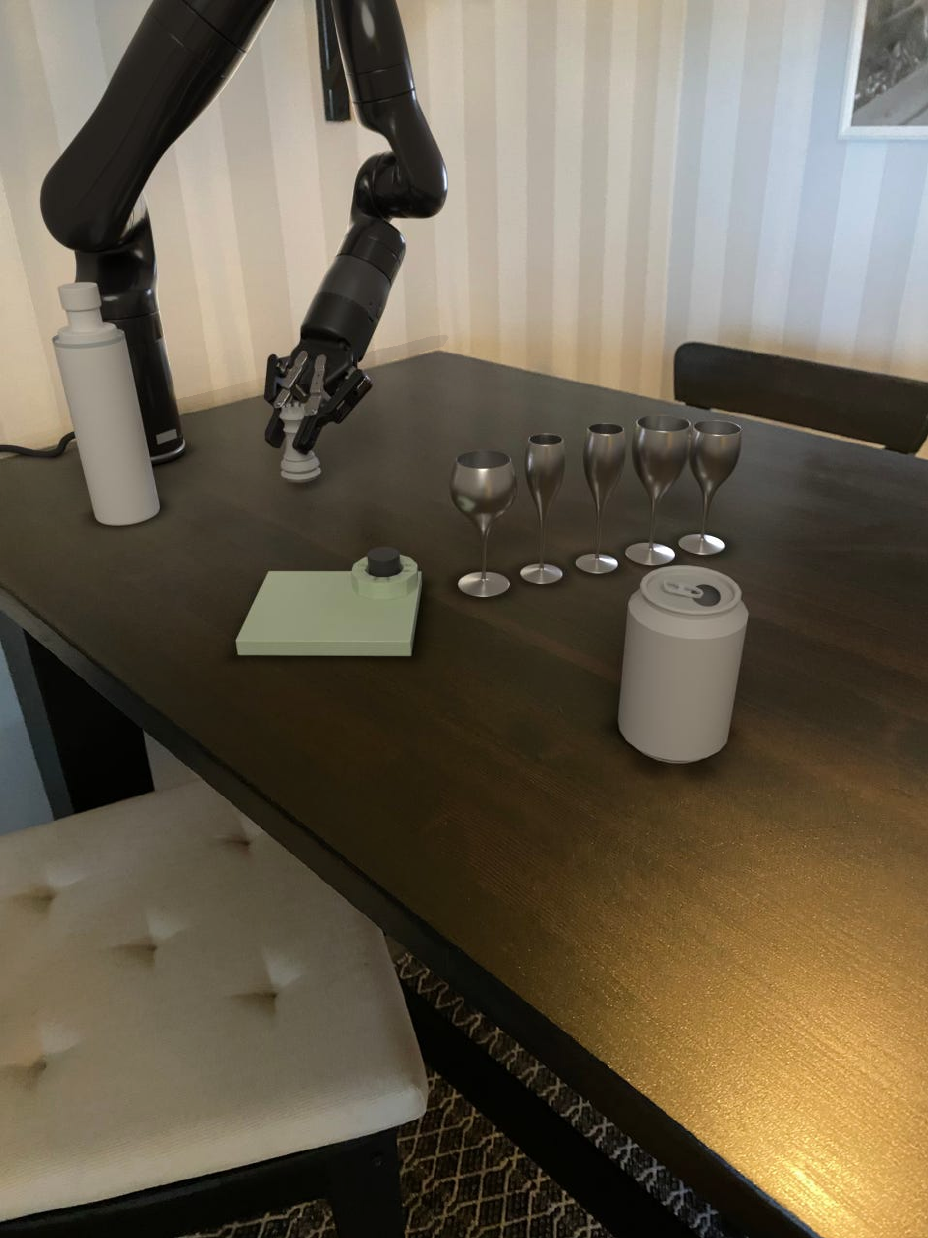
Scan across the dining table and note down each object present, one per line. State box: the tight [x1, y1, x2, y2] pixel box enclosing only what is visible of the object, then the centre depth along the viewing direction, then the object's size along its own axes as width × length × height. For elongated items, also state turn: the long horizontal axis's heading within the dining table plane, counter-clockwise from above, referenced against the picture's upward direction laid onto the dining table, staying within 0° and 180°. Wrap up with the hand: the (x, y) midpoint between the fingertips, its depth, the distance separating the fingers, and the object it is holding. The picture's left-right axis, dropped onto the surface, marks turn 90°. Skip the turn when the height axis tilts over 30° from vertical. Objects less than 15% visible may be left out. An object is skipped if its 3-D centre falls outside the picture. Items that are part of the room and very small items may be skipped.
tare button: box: [366, 546, 401, 577], centre depth 78 cm, size 3×3×2 cm
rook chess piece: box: [279, 402, 322, 483], centre depth 99 cm, size 4×4×8 cm
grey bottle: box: [51, 282, 161, 527], centre depth 91 cm, size 7×7×25 cm
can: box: [617, 564, 750, 764], centre depth 60 cm, size 8×8×12 cm
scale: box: [235, 554, 423, 657], centre depth 77 cm, size 14×12×3 cm
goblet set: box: [449, 414, 742, 598], centre depth 82 cm, size 28×6×13 cm, turn 109°
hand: (285, 447), depth 97 cm, fingers closed on rook chess piece, 3 cm apart
